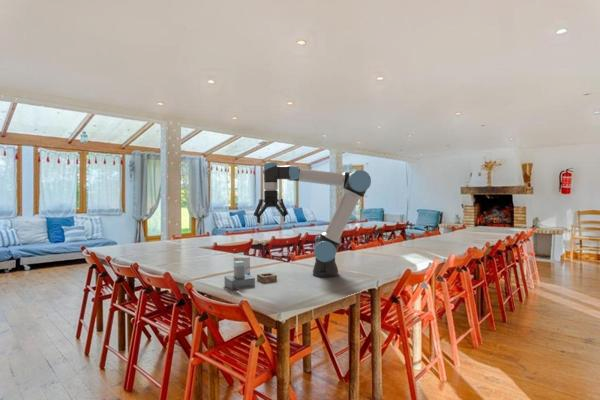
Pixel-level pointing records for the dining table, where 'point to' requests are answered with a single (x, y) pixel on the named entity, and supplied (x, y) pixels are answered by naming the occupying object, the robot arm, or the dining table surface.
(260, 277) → the brown hollow block
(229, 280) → the block
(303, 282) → the dining table surface
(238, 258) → the ink box
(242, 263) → the plug
